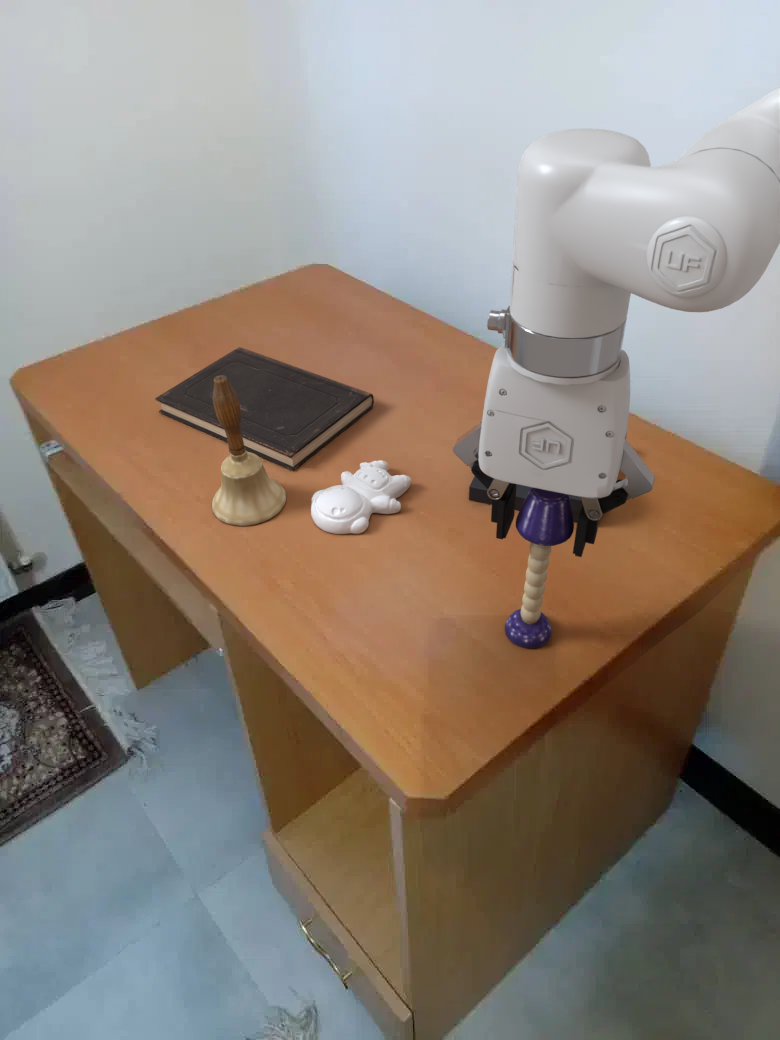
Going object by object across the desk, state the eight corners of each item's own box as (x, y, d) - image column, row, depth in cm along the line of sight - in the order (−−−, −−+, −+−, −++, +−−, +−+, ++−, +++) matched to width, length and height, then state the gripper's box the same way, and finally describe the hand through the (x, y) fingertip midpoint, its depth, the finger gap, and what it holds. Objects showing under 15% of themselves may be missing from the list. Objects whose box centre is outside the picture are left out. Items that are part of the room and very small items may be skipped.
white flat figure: (427, 497, 87) (427, 476, 85) (339, 546, 82) (336, 524, 80) (378, 461, 93) (377, 440, 91) (293, 505, 87) (289, 484, 85)
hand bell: (249, 536, 84) (221, 409, 73) (196, 508, 88) (162, 384, 77) (301, 495, 89) (282, 370, 78) (249, 470, 92) (223, 348, 82)
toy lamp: (530, 603, 75) (546, 463, 64) (568, 631, 72) (591, 490, 61) (494, 629, 73) (504, 488, 62) (532, 659, 70) (549, 517, 59)
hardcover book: (293, 471, 92) (290, 455, 90) (159, 413, 102) (155, 398, 101) (374, 406, 101) (373, 391, 100) (244, 359, 112) (241, 344, 110)
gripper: (424, 345, 53) (427, 543, 65) (693, 386, 47) (643, 593, 59) (458, 296, 58) (456, 488, 70) (705, 328, 53) (656, 530, 65)
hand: (542, 535), depth 64 cm, fingers open, 5 cm apart
